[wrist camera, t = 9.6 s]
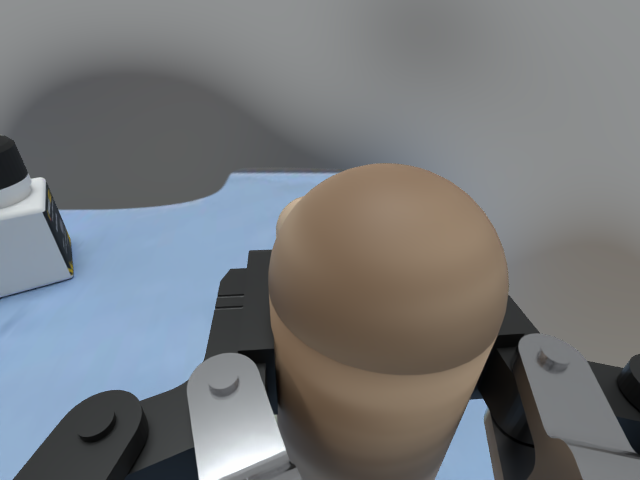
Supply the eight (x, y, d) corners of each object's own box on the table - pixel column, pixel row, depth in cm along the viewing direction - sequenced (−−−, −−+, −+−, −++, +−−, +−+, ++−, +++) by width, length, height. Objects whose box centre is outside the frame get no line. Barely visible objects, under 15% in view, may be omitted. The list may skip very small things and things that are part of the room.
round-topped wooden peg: (255, 451, 12) (215, 156, 6) (357, 382, 14) (394, 122, 9) (340, 607, 9) (407, 303, 3) (453, 487, 11) (605, 190, 6)
